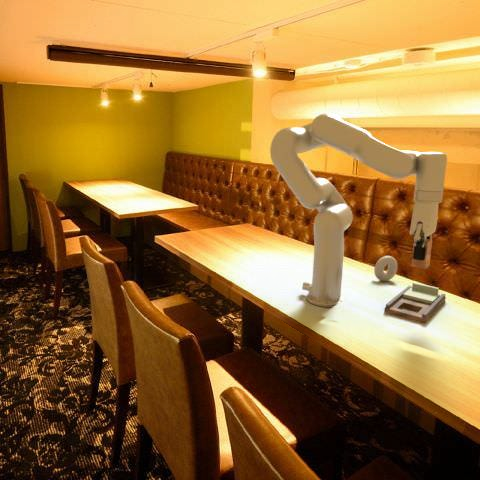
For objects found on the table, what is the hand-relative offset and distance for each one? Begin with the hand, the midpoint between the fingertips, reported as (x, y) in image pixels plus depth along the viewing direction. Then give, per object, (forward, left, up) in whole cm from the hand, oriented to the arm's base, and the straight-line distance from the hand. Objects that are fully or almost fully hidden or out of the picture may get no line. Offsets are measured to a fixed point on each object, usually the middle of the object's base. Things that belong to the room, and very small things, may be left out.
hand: (421, 257), depth 129 cm
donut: (-19, +27, -20) cm, 39 cm away
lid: (-1, +11, -16) cm, 20 cm away
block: (0, 0, -3) cm, 3 cm away
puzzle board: (-1, +6, -19) cm, 20 cm away
